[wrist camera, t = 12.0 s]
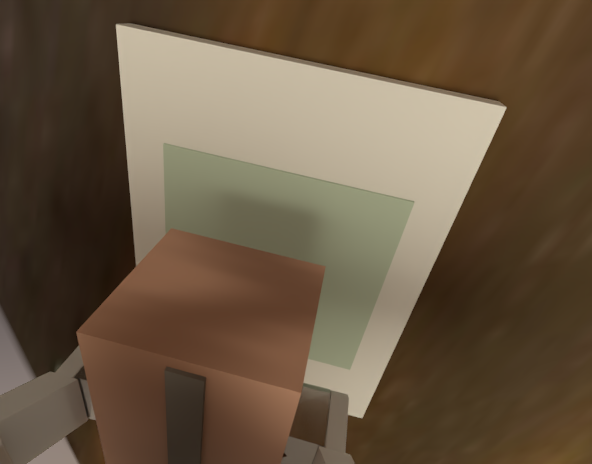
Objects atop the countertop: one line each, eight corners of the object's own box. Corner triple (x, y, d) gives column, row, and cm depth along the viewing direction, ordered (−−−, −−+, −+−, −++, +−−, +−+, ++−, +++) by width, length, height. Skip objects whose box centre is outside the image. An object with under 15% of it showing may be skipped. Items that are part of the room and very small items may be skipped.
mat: (362, 404, 20) (361, 420, 19) (151, 346, 21) (142, 359, 20) (499, 101, 11) (508, 107, 11) (130, 23, 12) (113, 24, 11)
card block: (325, 266, 10) (300, 397, 7) (287, 410, 14) (258, 542, 11) (170, 228, 11) (72, 335, 7) (174, 379, 14) (110, 497, 11)
